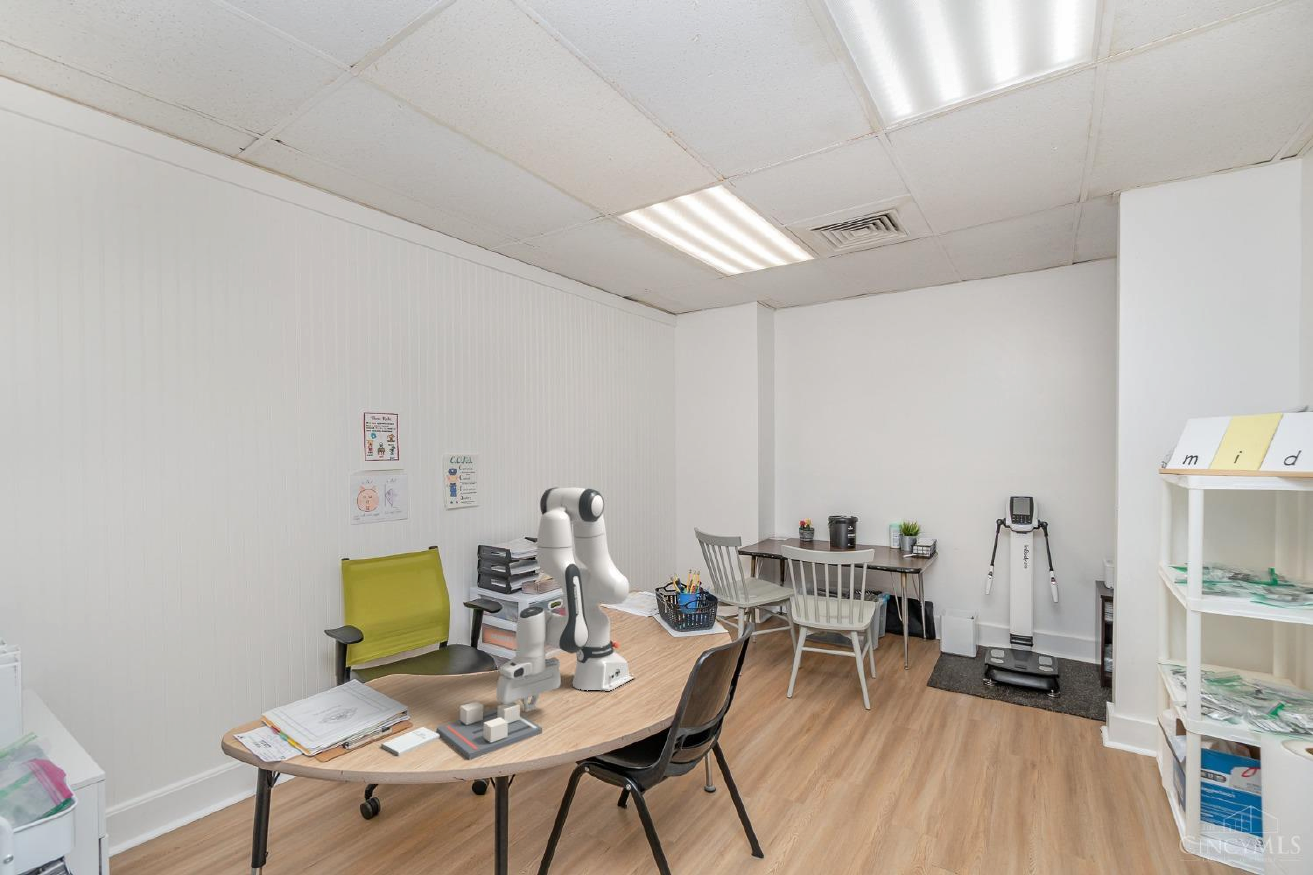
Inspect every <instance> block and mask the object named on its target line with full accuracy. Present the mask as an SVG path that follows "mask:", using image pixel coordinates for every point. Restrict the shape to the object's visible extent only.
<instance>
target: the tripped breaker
mask: <svg viewBox="0 0 1313 875" xmlns="http://www.w3.org/2000/svg"><path fill="white" fill-rule="evenodd" d="M497 708H498V715H497V718H499V717H501V718H502V719H504V720H505V721H507V722H508V723H511V722H514V721H517V720H520V714H521V705H520V704H518V703H517V702H516V701H514V702H511V703H508V704H500V705H497Z"/></svg>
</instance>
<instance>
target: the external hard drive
mask: <svg viewBox="0 0 1313 875" xmlns="http://www.w3.org/2000/svg"><path fill="white" fill-rule="evenodd" d="M437 738H439V739H440V738H441V736H440V735H439V734H438V733H437V732H436V731H433V730H431V729H429V728H426V727H424V726H421V727H419V728H416V729H414V730H412V731H409V732H406V733H404V734H402V735H400V736H397V737H395V738H392V739H389V740H387V741H385V742H382V743H381V745H380V747H381V748H382V749H384V750H385V751H388V752H390V753H391V752H392V754H394V755H395V754H396V755H395V756H397V757H400V756H402V754H403V755H404V753H405V754H407V753H409V752H412V751H414V750H416V749H419V748H420V747H423V746H424V745H427V744H429V743H432V742H434V741H435V740H436V741H437V740H438V739H437ZM422 745H423V746H422ZM406 752H407V753H406Z"/></svg>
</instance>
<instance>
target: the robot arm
mask: <svg viewBox="0 0 1313 875" xmlns="http://www.w3.org/2000/svg"><path fill="white" fill-rule="evenodd" d="M604 501H605V500H604V497H603V496H602V494H601V492H600V491H599V490H595V489H593V488H584V487H575V486H573V487H572V486H571V487H551V488H547V489H546V490H544V492H543V494H542V495H541V498H540V502H539V507H540V512H541V515H542V516H541V518H540V522H539V526H538V530H537V531H538V532H537V538H536V539H537V540H536V560H537V564H538V566H539V568H540V569H541V570H542V572H543V573H544V574H546V575H547V576H549V577H550V578H552V579H553V580H554V582H557V584H558V585H559V586H560V588H561V591H562V594H563V599H564V611H565V615H561V614H559V613H554V612H549V611H546V610H544V608H543V607H541V606H529V607H526V608H524V609H522V610H521V611H520V613H519V614H518V617H517V619H516V620H517V621H516V630H515V631H516V633H515V642H516V650H515V656H514V657H513V658H511V659H510V660H509V661H507V662H505V663H504V664H502V665H501V666H500V667H499V673H500V674H501V675H499V678H498V681H497V685H496V686H497V687H496V699H497V701H498V702H499V703H501V705H503V704H508V703H511V702H518V701H520V702H521V703H522V705H523V711H524V712H525V713H527V712H530V711H534V710H535V709H536V704H537V701H538V700H539V699H540V698H539V697H540V694H544V693H546V692H550V691H552V690H556V689H559V688H560V686H561V683H562V682H561V680H562V679H561V671H560V665H561V663H560V659H559V658H557V657H555V656H553V657H551V658H546V656H547V655H546V648H547V647H548V646H549V647H551V648H555V649H559V650H562V651H564V652H566V653H569V654H576V664H575V670H574V671H575V672H574V675H573V678H572V679H573V680H572V683H571V684H573V685H572V686H573V687H574V688H575V689H577V690H580V689H581V690H580V691H584V690H587V691H586V692H589V691H588V690H605V691H610V690H612V689H614V690H616V689H617V688H616V687H618V686H619V685H621V684H623V683H624V682H627V681H629V680H630V679H632V678H633V677H631V676H629V675H630V674H629V671H630V670H629V664H628V661H627V660H626V659H625V658H624V657H623V656H621V655H620V654H618V653H617V652H616V651H615V650H614V648H615V649H619V647H620V643H619V641H618V642H617V641H612V640H611V620H610V618H609V615H607V614H606V613H605V612H604V611H603V610H602V609H601V607H600V605H608V606H610V605H611V606H612V605H613V606H614V605H621V604H623V603H624V602H625V601H626V600H627V598H628V597H629V593H630V583H629V580H628V578H627V577H626V576H625V575H624V574H622V573H621V572H620V571H619V569H618V568H617V566H616V565H615V563H614V562H613V560H612V557H611V555H610V552H609V547H608V539H607V538H608V537H607V532H606V531H607V530H606V524H605V522H606V521H605V517H604V513H603V512H604V509H605V502H604ZM573 542H574V544H573ZM573 545H574V552H575V553H574V552H573ZM574 554H575V556H576V558H577V560H578V561H579V562H581V563H582V564H583V565H584V566H585V567H586V568H583V567H580V568H579V567H578V566H577V564H576V561H575V557H574ZM632 675H635V674H634V673H633V672H632ZM615 688H616V689H615ZM618 688H619V687H618ZM605 691H604V692H605ZM612 691H613V690H612ZM610 692H611V691H610ZM529 698H531V699H530V702H527V701H529Z"/></svg>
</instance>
